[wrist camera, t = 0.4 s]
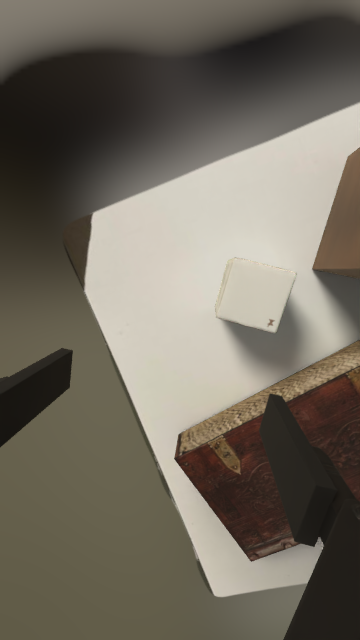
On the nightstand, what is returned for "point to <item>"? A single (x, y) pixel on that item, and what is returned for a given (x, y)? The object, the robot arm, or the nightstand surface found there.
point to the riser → (343, 226)
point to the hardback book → (250, 456)
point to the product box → (254, 294)
